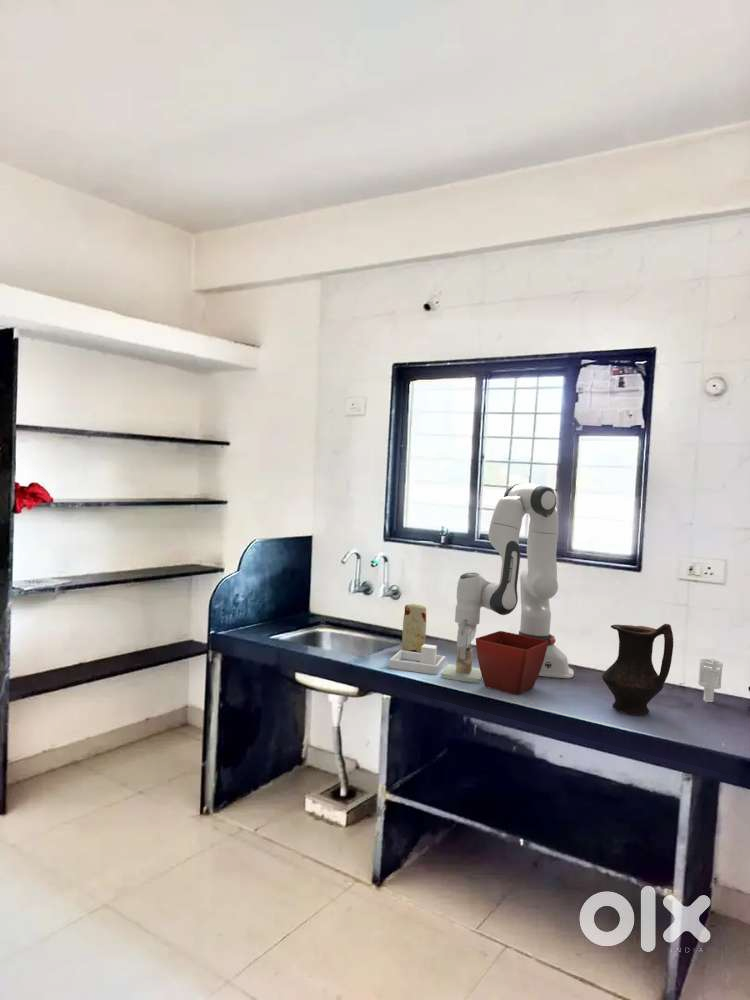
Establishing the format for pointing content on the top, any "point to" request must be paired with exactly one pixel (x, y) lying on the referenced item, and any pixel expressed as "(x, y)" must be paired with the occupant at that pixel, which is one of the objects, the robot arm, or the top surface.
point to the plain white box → (428, 654)
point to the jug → (637, 668)
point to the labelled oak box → (464, 662)
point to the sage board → (461, 674)
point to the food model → (414, 628)
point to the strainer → (710, 677)
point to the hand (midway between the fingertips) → (464, 655)
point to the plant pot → (510, 661)
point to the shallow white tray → (415, 667)
